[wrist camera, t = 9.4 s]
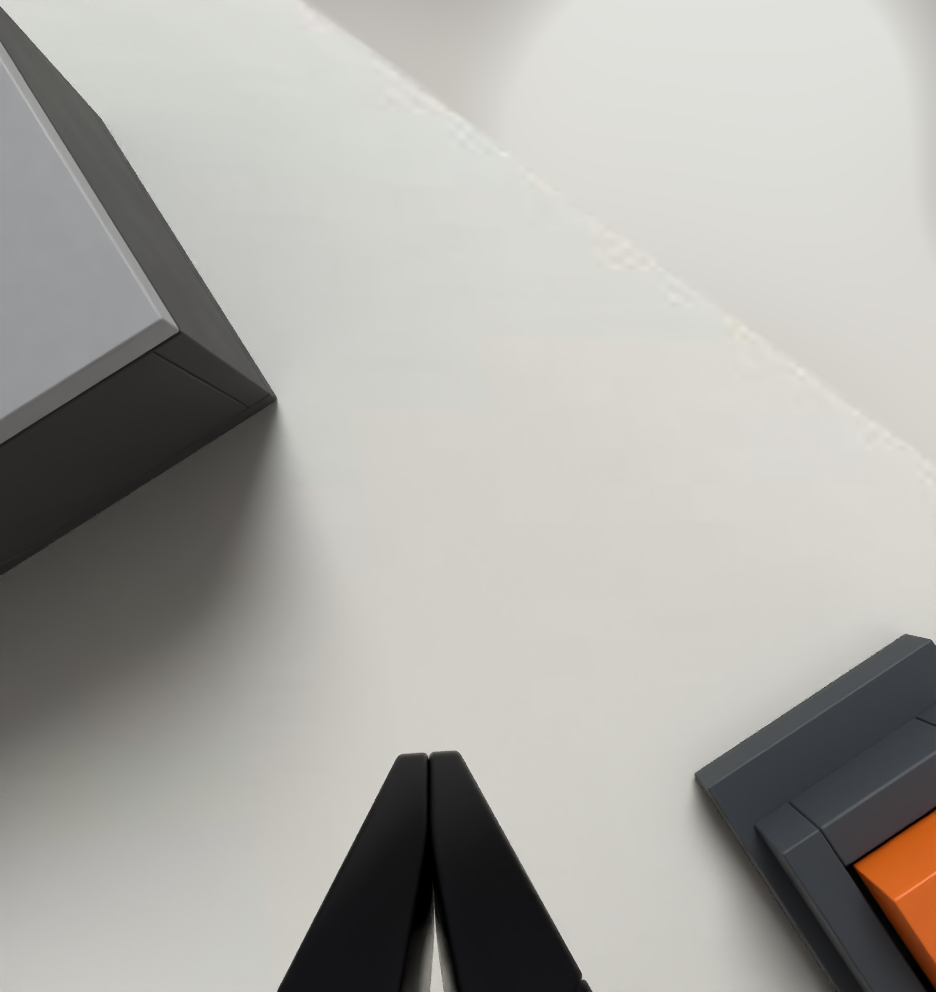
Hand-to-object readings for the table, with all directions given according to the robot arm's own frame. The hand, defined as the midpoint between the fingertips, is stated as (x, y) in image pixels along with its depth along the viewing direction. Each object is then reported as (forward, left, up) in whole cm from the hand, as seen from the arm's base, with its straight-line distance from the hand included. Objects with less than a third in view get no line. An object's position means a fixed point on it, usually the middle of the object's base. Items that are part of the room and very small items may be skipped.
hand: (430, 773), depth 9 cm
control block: (-15, +1, -12) cm, 19 cm away
